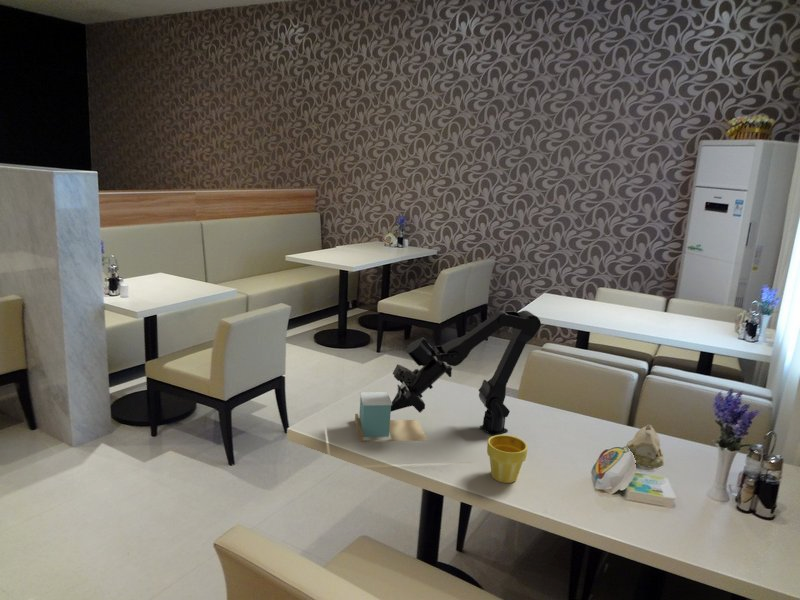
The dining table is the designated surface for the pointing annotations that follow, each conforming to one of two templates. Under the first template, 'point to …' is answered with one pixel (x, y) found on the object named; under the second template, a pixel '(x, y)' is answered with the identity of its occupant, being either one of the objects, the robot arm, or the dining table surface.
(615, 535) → the dining table surface
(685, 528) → the dining table surface
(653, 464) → the ceramic model
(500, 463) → the plant pot
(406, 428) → the plinth board
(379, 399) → the tin
